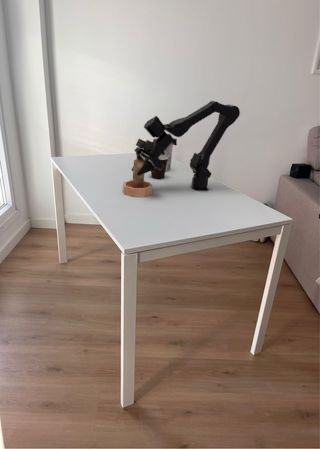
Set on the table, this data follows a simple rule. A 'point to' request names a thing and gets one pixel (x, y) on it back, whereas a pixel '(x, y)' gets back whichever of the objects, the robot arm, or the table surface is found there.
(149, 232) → the table surface
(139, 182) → the walnut peg
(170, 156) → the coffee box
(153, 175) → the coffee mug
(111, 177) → the table surface
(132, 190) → the terracotta dish
